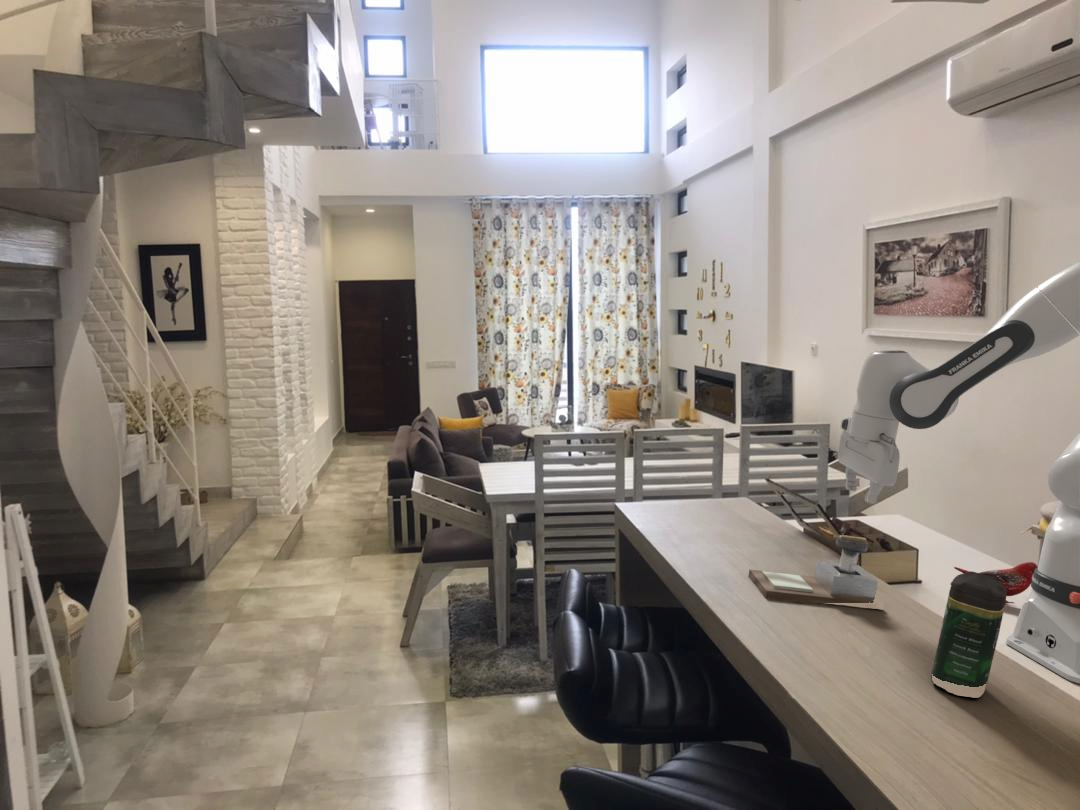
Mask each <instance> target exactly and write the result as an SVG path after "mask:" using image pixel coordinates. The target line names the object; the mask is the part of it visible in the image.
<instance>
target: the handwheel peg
mask: <svg viewBox="0 0 1080 810" xmlns="http://www.w3.org/2000/svg"><path fill="white" fill-rule="evenodd" d="M835 546H836V547H838V548H840V549H841V556H840V558H839V559H840V561H839V563H840V565H839V570H838V571H839V572H840V573H842V574H851V575H855V571H856V565H857V563H858V560H859V555H860V553H866V552H867V551H868V547H869V542H868V541H867V538H866V537H863V536H862V537H860V536H852V535H847V534H840V535H837V536H836V540H835Z"/></svg>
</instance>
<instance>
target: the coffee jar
mask: <svg viewBox="0 0 1080 810" xmlns="http://www.w3.org/2000/svg"><path fill="white" fill-rule="evenodd" d="M980 573H981V572H976V571H970V572H969V573H960V574H957V575H956V576H955V577H954V578H953V579H952V581H951V582H950V589H949V591H948V596H947V601H946V604H945V611H944V614H943V620H942V623H941V629H940V633H939V638H938V639H939V640H938V644H937V648H936V651H935V652H936V653H935V656H934V659H933V666H932V669H931V674H933V676H935V677H936V678H938V679H940V680H942V681H947V682H950V683H954V684H957V685H964V686H969V687H979V686H983V685H984V684H986V682H987V681H988V682H989V679H990V672H991V667H992V664H993V661H994V657H995V653H996V648H997V643H998V640H999V635H1000V630H1001V627H1002V621H1003V616H1004V611H1005V605H1006V604H1005V601H1006V600H1007V596H1006V594H1007V590H1006V588H1005V587H1004V586H1003V585H1002V584H1001V583H1000V582H999V581H998V579H996V578H994V577H990V576H987V575H983V574H980ZM988 682H987V683H988Z"/></svg>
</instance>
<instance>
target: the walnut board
mask: <svg viewBox="0 0 1080 810" xmlns="http://www.w3.org/2000/svg"><path fill="white" fill-rule="evenodd" d="M814 577H815V576H814V575H813V576H811V575H802V574H793V573H785V572H774V571H767V570H756V569H748V578H749V580H751V581H752V582H753V584H754V585H755V586H756V588H757V590H758V591H759V592H760V593H761V594H762V595H763V596H764V598H765V599H772V600H781V601H791V602H798V603H799V602H800V603H809V604H816V603H869V602H870V603H873V602H874V601H873V600H870V599H861V598H852V597H843V596H834V595H830V594H829V593H828V592H827V591H826V590H825V589H824V588H823V587H822V586H821V585H820V584H819V583H818V582H817V581H816V580H815V579H814Z"/></svg>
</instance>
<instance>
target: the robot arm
mask: <svg viewBox="0 0 1080 810" xmlns="http://www.w3.org/2000/svg"><path fill="white" fill-rule="evenodd" d="M1079 336H1080V261H1078V262H1076V263H1074V264H1073V265H1071V266H1069V267H1066V268H1064V269H1062V270H1061V271H1059V272H1057V273H1056V274H1053V276H1050V277H1049V278H1047V279H1046V280H1045V281H1043V282H1041V283H1040V284H1038V285H1037V286H1036V287H1034V288H1033V289H1031V290H1030V291H1029V292H1027V293H1026V294H1024V296H1022V297H1021V298H1020V299H1018V300H1017V301H1016V302H1015V303H1014V304H1013V305H1011V307H1010V308H1008V310H1007V311H1006V312H1005V313H1004V314H1003V315H1002V316H1001V317H1000V318H999V319H998V320H997V321H996V322H995V323H994V324H993V325H992V326H991V328H990V329H988V331H986V332H985V334H984V335H982V336H981V337H979V339H977V340H976V341H974V342H973V343H971V344H970V345H969V346H967V347H966V348H965V349H962V350H961V351H960V352H958V353H957V354H956V355H954V356H952V357H951V358H949V359H948V360H946V361H945V362H943V363H942V364H940V365H938V366H937V367H935V368H933V369H929V368H928V367H926V366H925V365H923V364H921V362H918V361H917V360H916V359H915V358H914V357H912V355H910V353H909V352H908V351H905V350H876V351H873V352H871V353H869V354H868V355H867V356H866V357H865V360H864V362H863V365H862V367H861V371H860V374H859V378H858V382H857V388H856V403H855V405H854V406H853V409H852V413H851V415H850V416H849V417H846V418H842V420H841V422H840V429H841V430H842V431H841V433H840V436H839V441H838V448H837V449H838V450H837V461H838V463H840V464H841V465H842V466H845V471H844V473H845V480H846V482H845V487H844V488H845V490H848V491H851V492H856V491H857V489H858V482H857V475H858V474H859V475H860V476H862V477H864V478H865V479H867V480H868V481H869V486H870V487H869V489H868V491H867V492H865V497H864V501H865V502H866V503H868V504H874V505H875V504H876V503H877V500H878V496H879V495H880V493H881V492H882V490H883V489H884V487H894V485H895V484H896V483H897V480H898V473H899V469H900V468H899V466H900V459H901V457H900V450H899V448H898V445H897V444H896V440H897V435H898V429H899V426H900V425H899V424H901V425H903V426H905V427H908V428H909V429H910V428H911V429H913V430H926V429H929V428H932V427H935V426H936V425H938V424H939V423H941V421H943V420H945V419H947V418H948V417H949V416H950V415H951V416H952V414H953V413H954V411H955V410H956V409H957V407H958V404H959V400H960V399H959V398H960V397H961V396H962V395H963V394H965V393H966V392H968V391H969V390H971V389H973V388H974V387H976V386H977V385H978V384H980V383H982V382H984V381H985V380H986V379H987V378H989V377H991V376H992V375H993V374H996V373H997V372H999V371H1000V370H1002V369H1004V368H1006V367H1008V366H1010V365H1012V364H1015V363H1018V362H1021V361H1025V360H1029V359H1032V358H1036V357H1040V356H1042V355H1044V354H1047V353H1049V352H1052V351H1053V350H1055V349H1058V348H1060V347H1062V346H1064V345H1066V344H1067V343H1069V342H1071V341H1073V340H1074V339H1076V338H1077V337H1079ZM1047 484H1048V487H1049V490H1050V492H1051V493H1052V495H1053V496H1054V497H1055V498H1056V499H1057V500H1058V503H1057V506H1056V509H1055V510H1054V514H1053V515H1052V518H1051V520H1050V521H1049V523H1048V526H1047V528H1046V530H1045V534H1044V539H1043V543H1042V548H1041V552H1040V556H1039V561H1038V565H1037V566H1038V568H1036V569H1035V571H1034V574H1033V576H1032V583H1031V584H1030V587H1031V592H1030V594H1029V595H1028V597H1027V598H1026V599H1025V600H1024V602H1023V604H1022V606H1021V608H1020V611H1019V614H1018V617H1017V620H1016V622H1015V626H1014V628H1013V632H1012V634H1011V635H1009V636H1007V638H1006V640H1005V644H1006V645H1008V646H1009V647H1011V648H1012V649H1015V650H1017V651H1018V652H1020V653H1021V654H1023V655H1025V656H1026V657H1027V658H1028V657H1029V658H1030V659H1031V660H1034V661H1035V662H1037V663H1039V664H1040V665H1042V666H1044V667H1045V668H1047V669H1049V670H1051V671H1052V672H1053V673H1056V674H1057V675H1059V676H1061V677H1062V678H1064V679H1066V680H1067V681H1069V682H1072V683H1075V684H1080V432H1079V433H1078V434H1077V435H1076V436H1075V438H1073V439H1072V441H1071V442H1070V443H1069V444H1068V446H1066V448H1065V449H1064V450H1063V452H1061V454H1060V455H1059V456H1058V457H1057V459H1055V461H1054V462H1053V463H1052V464H1051V466H1050V468H1049V470H1048V474H1047Z"/></svg>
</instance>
